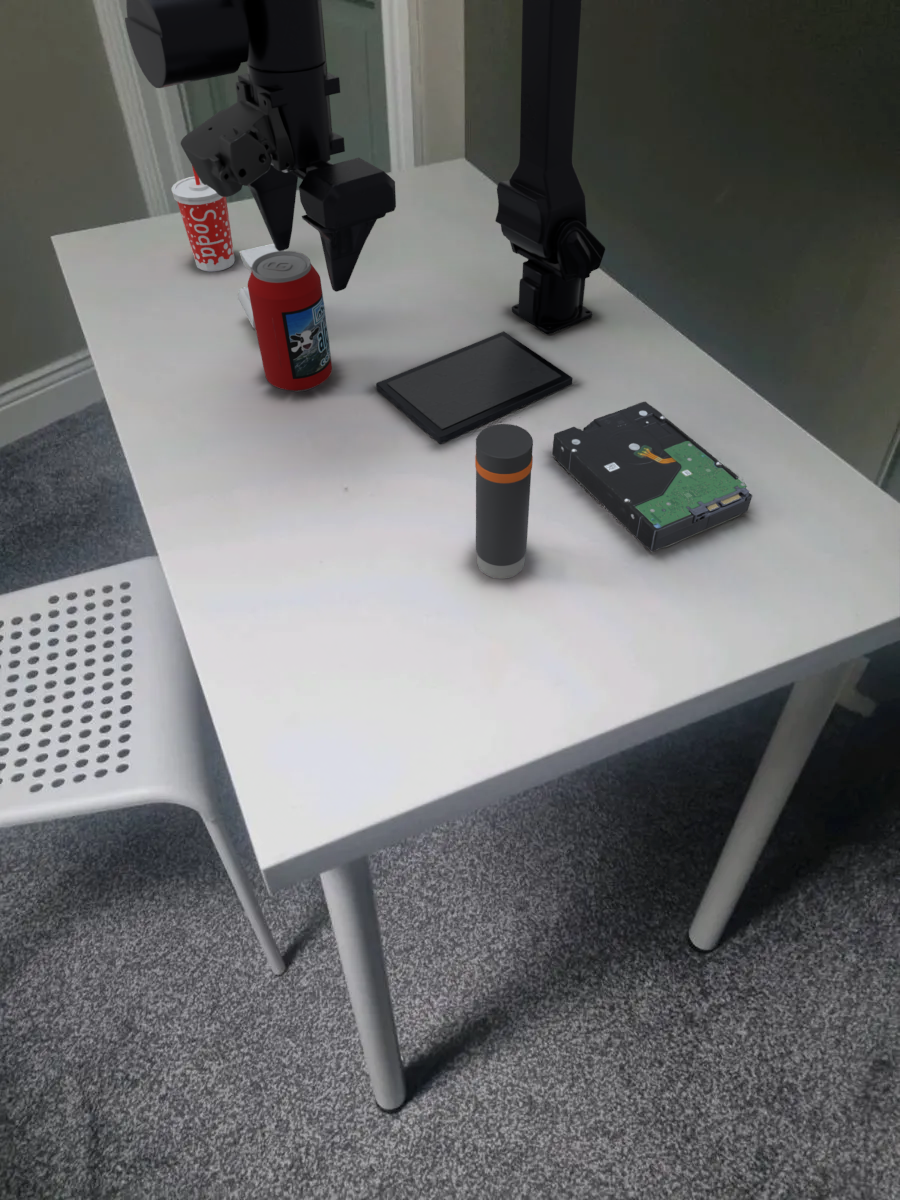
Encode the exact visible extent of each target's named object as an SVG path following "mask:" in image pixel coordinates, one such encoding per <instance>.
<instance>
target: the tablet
mask: <svg viewBox="0 0 900 1200" xmlns="http://www.w3.org/2000/svg"><path fill="white" fill-rule="evenodd" d="M572 385H573V377H572V376H571V375H569V374H568V373H566V372H565V371H563V369H560V368H559V367H558V366H556V365H554V364H553V363H552V362H550V361H549V360H548V359H546V358H544V357H542V356H541V354H538V353H537V352H535V351H534V350H532V348H529V346H527V345H525V344H524V343H522V342H520V341H519V340H518V339H516V338H515V337H513V336H512V335H511V334H509V333H508V332H506V331H504V330H503V331H501V332H498V333H496V334H493V335H491V336H489V337H486V338H483V339H482V340H479V341H476V342H473V343H471V344H469V345H466V346H465V347H462V348H459V349H456V350H454V351H452V352H450V353H447V354H443V355H442V356H439V357H437V358H435V359H432V360H429V361H427V362H425V363H422V364H420V365H418V366H415V367H412V368H410V369H407V370H405V371H403V372H400V373H398V374H395V375H393V376H390V377H388V378H386V379H382V380H380V381H378V382H376V383H375V388H376V389H375V390H376V391H377V392H378V393H380V394H381V396H383V397H384V398H385V399H387V400H388V401H389V402H390V403H391V404H392V405H393V406H395V407H396V408H397V409H398V410H400V412H402V413H403V414H404V415H406V417H408V419H410V420H411V421H412V422H414V423H415V424H416V425H417V426H418V427H419V428H421V430H423V431H424V432H426V434H428V435H429V436H430V437H431V438H433V439H434V441H436V442H437V443H438V444H440V445H441V444H444V443H446V442H448V441H450V440H453V439H455V438H457V437H460V436H461V435H464V434H466V433H468V432H470V431H473V430H475V429H476V428H477V429H478V428H479V427H481V426H483V425H486V424H488V423H490V422H492V421H495V420H497V419H500V418H501V417H503V416H505V415H508V414H510V413H512V412H515V411H516V410H519V409H521V408H523V407H525V406H528V405H529V404H533V403H534V402H536V401H538V400H541V399H543V398H545V397H547V396H549V395H552V394H554V393H556V392H559V391H561V390H563V389H565V388H567V387H569V386H572Z"/></svg>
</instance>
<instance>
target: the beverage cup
mask: <svg viewBox="0 0 900 1200" xmlns="http://www.w3.org/2000/svg"><path fill="white" fill-rule="evenodd" d="M191 167H192V172H193V176H189V177H186V178H182V179H179V180H177V182H175V183H173V184H172V187H171V189H170V191H171V193H172V197H173V199H174V201H176V203H177V205H178V209H179V212H180V216H181V219H182V222H183V226H184V228H185V232H186V236H187V238H188V242H189V245H190V249H191V251H192V254H193V259H194V262H195V265H196V267H197V269H198V270H200V271H205V272H219V271H223V270H226V269H228V268H231V267H232V266H233V265H234V264H235V260H236V258H235V252H234V244H233V243H234V242H233V237H232V230H231V223H230V216H229V208H228V201H227V197H222V196H220V195H218V194H217V193H216V191H215V190H213V189H212V188H210V187H209V186H208V185H204V184H203V183H202V182H201V180H200V178H199V177H198V175H197V173H196V171H195V169H194V168H193V166H192V165H191Z"/></svg>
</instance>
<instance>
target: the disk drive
mask: <svg viewBox="0 0 900 1200" xmlns="http://www.w3.org/2000/svg"><path fill="white" fill-rule="evenodd" d="M551 452H552V453H551V455H552V456H553V457H554V458H556V461H557V462H558V463H559V464H560V465H561V466H562V467H563V468H564V469H565V470H566V471H567V472H568V473H569V474H570V475H571V476H572V477H573V478H574V479H575V480H576V481H577V482H578V483H579V484H580V485H581V486H582V487H583V488H584V489H585V490H586V491H587V492H589V494H591V495H592V496H593V497H594V498H595V499H596V500H597V501H598V502H599V503H601V504H602V505H603V506H604V507H605V509H606V510H607V511H608V512H609V513H610V514H611V515H612V517H614V518H615V519H616V520H617V521H618V522H619V523H620V524H621V525H622V526H623V527H625V528H626V529H627V531H629V533H630V534H631V535H633V537H635V538H636V539H637V540H638V541H639V542H640V543H641V544H642V545H643V546H644V547H646V548H648V550H649V551H650V552H656V551H657V550H659V549H663V548H667V547H669V546H671V545H674V544H677V543H678V542H679V543H680V542H681V541H683V540H685V539H688V538H691V537H692V536H695V535H697V534H700V533H702V532H704V531H707V530H709V529H711V528H714V527H716V526H719V525H721V524H723V523H725V522H728V521H730V520H732V519H735V518H736V517H739V516H741V515H742V514H744V513H747V512H748V511H749V507H750V505H751V501H752V498H753V494H752V493H751V492H750V490H749V489H747V487H748V485H747V484H746V483H744V482H743V481H742V480H740V478H739V476H738V475H737V474H736V473H735V472H734V471H732V469H730V468H729V467H727V466H725V464H723V463H722V462H720V461H719V460H718V458H716V457H714V456H713V454H712V453H710V452H709V451H708V450H707V449H705V448H704V447H702V446H701V445H700V444H699V443H698V442H697V441H696V440H694V439H693V438H691V437H690V436H689V435H688V434H687V433H685V432H684V431H683V430H682V429H681V428H679V427H678V426H677V425H676V424H674V422H672V421H671V420H669V419H668V418H667V417H666V416H665V415H664V414H662V413H661V411H659V410H658V409H656V408H655V407H654V406H652V405H651V404H649V403H648V402H647V401H641V402H639V403H635V404H634V405H630V406H628V407H626V408H623V409H620V410H617V411H614V412H611V413H608V414H605V415H603V416H600V417H599V416H598V417H596V418H594V419H593V420H592V421H590V423H588V424H587V425H586V426H584V427H583V428H582V429H581V428H577V427H576V426H572V427H569V428H566V429H563V430H561V431H558V432H555V433H554V434H553V439H552V451H551Z"/></svg>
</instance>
